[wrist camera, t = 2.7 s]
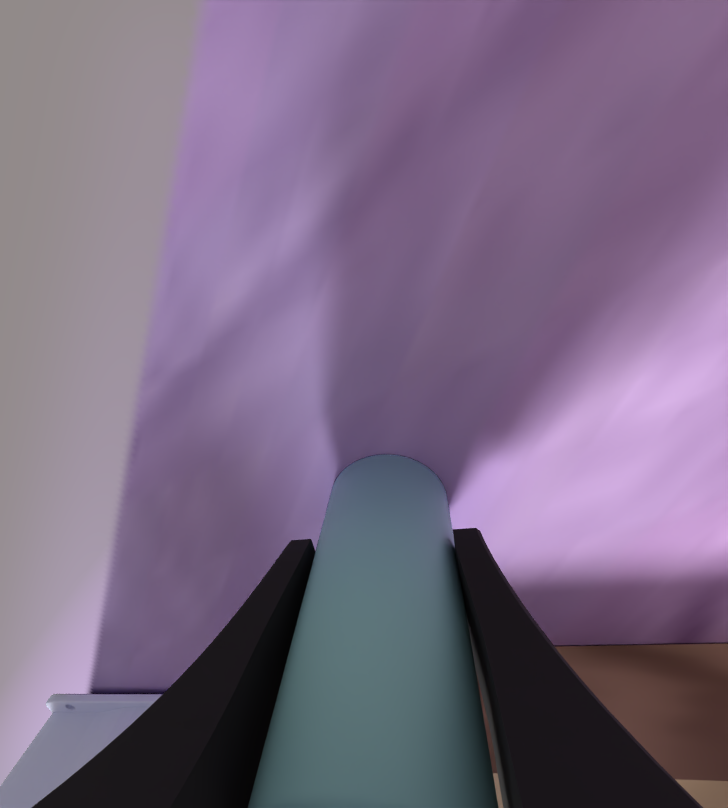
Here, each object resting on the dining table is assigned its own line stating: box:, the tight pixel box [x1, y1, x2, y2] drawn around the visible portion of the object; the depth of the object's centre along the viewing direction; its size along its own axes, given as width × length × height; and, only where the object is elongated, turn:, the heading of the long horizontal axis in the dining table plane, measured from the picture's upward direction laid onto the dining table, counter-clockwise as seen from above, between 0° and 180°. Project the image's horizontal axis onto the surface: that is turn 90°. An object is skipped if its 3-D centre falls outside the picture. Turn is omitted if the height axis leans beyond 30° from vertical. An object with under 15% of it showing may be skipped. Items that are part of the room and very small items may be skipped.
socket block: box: [475, 643, 728, 808], centre depth 17 cm, size 20×14×4 cm
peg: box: [248, 454, 499, 808], centre depth 9 cm, size 4×4×8 cm
